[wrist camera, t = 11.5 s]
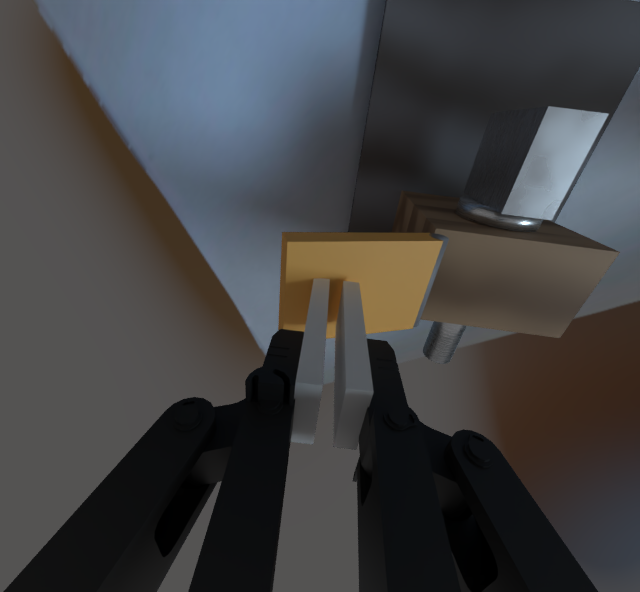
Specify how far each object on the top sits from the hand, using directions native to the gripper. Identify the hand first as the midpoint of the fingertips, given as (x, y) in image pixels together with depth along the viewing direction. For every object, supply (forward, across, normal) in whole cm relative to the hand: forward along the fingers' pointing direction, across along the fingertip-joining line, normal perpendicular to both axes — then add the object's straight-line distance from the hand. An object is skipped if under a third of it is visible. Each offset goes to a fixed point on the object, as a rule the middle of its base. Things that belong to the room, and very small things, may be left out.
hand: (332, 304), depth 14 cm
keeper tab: (+2, +1, 0) cm, 2 cm away
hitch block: (+16, +10, +5) cm, 19 cm away
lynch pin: (+11, +10, +1) cm, 15 cm away
